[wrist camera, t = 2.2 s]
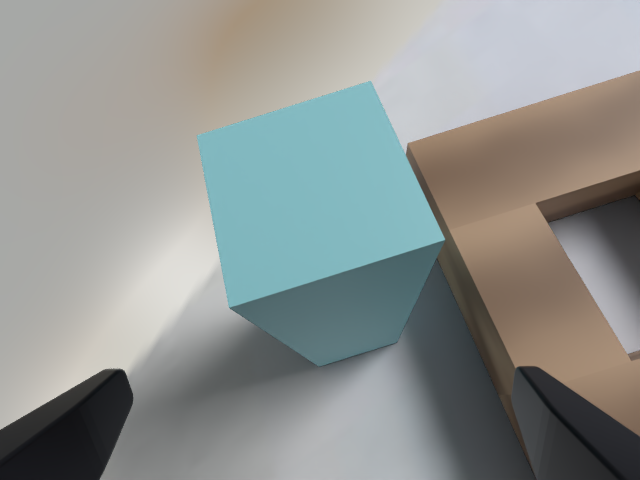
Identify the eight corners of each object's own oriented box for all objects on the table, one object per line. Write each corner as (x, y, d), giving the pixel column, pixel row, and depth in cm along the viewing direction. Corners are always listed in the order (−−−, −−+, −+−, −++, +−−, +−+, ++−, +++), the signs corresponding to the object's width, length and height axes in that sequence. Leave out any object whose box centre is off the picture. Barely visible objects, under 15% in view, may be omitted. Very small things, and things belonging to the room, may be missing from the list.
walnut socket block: (914, 412, 15) (1060, 415, 12) (556, 524, 15) (606, 558, 12) (648, 103, 22) (695, 52, 19) (402, 180, 22) (407, 143, 19)
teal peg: (397, 342, 19) (445, 240, 7) (319, 366, 19) (228, 308, 7) (370, 268, 20) (371, 81, 8) (298, 291, 20) (196, 135, 8)
